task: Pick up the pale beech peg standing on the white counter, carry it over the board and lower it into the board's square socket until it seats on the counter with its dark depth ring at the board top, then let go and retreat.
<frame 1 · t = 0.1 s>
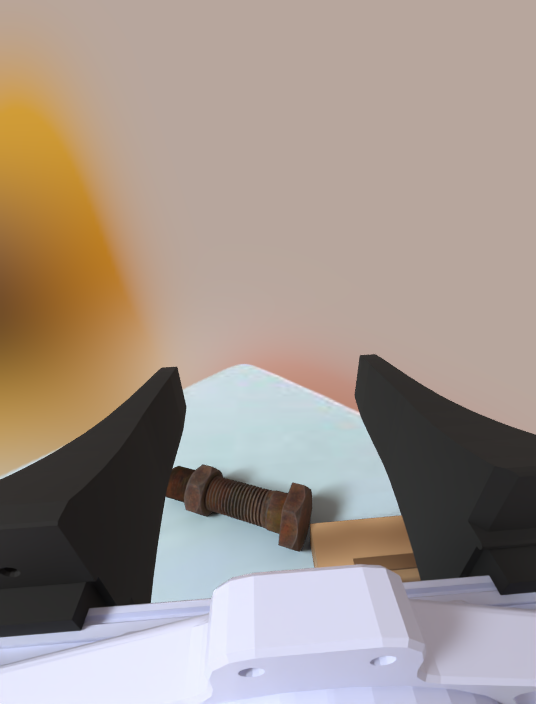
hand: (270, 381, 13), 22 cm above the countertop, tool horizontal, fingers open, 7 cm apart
board: (424, 629, 23), on the countertop
bolt: (234, 513, 32), on the countertop
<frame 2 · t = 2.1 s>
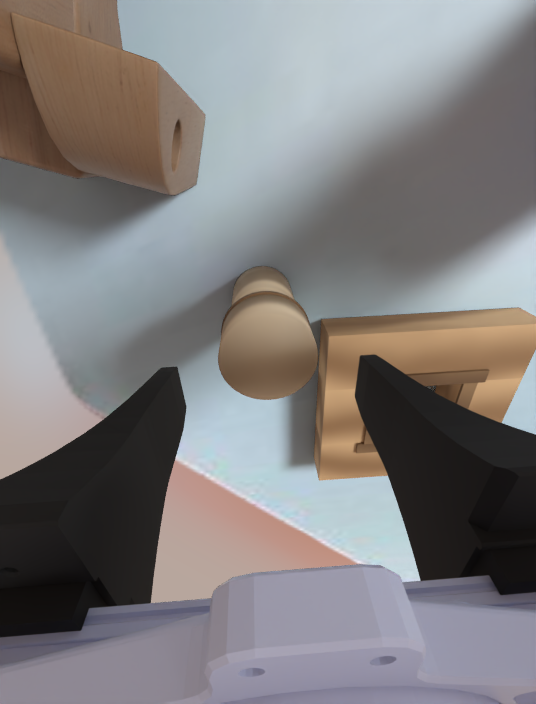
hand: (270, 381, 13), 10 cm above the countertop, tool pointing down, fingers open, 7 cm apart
peg: (262, 294, 21), on the countertop
board: (402, 392, 26), on the countertop
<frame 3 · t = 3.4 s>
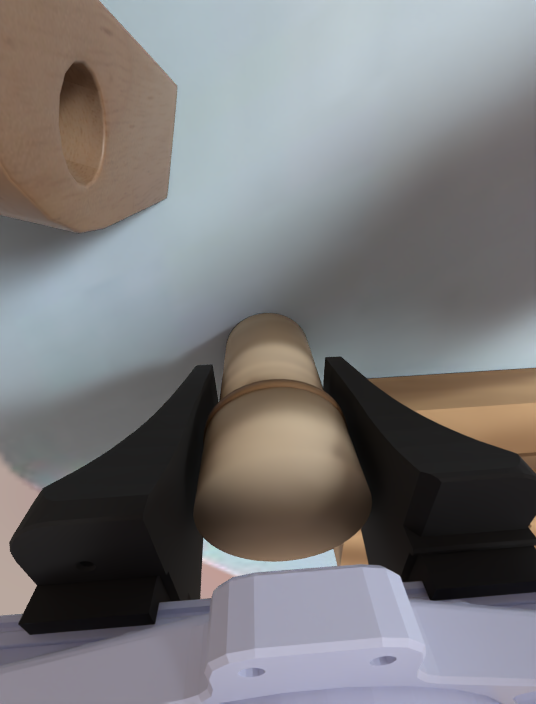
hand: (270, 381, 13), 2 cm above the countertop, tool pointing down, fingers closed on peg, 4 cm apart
peg: (267, 350, 15), on the countertop, touching gripper
board: (449, 463, 20), on the countertop
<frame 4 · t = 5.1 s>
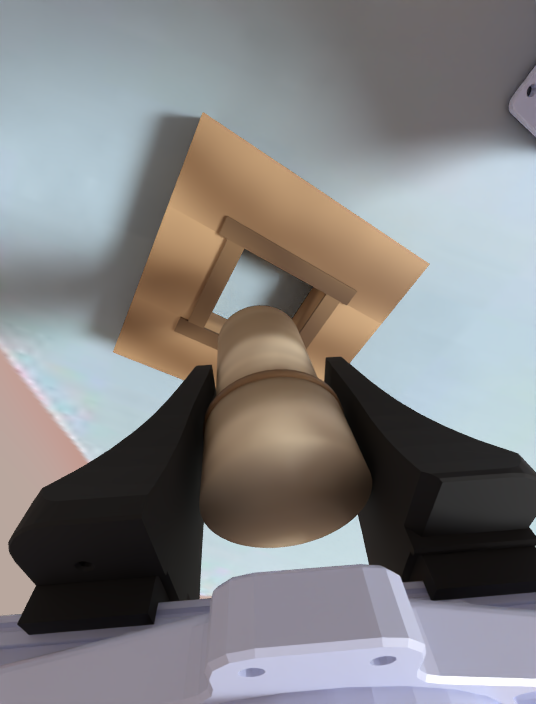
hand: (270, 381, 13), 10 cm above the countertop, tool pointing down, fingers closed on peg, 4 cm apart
peg: (259, 343, 15), point 7 cm above the countertop, touching gripper
board: (262, 295, 21), on the countertop
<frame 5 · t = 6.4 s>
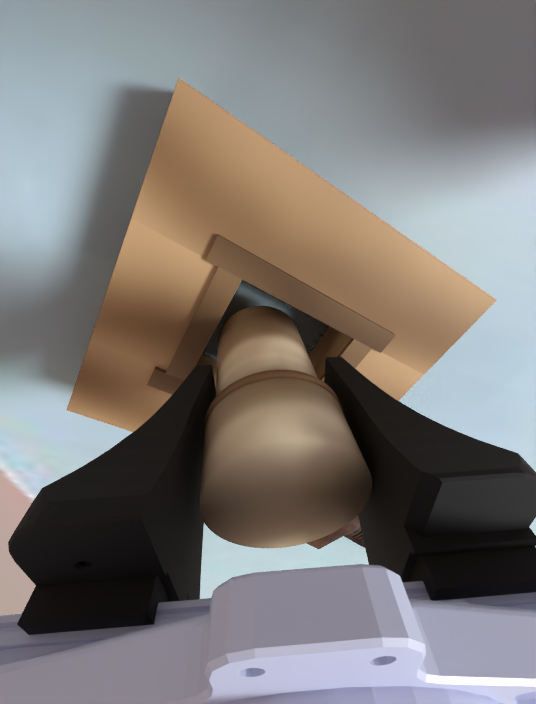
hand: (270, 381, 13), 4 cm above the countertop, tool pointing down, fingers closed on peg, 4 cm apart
peg: (259, 343, 15), point 2 cm above the countertop, touching gripper
board: (265, 332, 16), on the countertop
bolt: (367, 497, 25), on the countertop
when the fingers open (3 cm above the countertop, at t = 7.2 s): peg stays where it is, resting in board.
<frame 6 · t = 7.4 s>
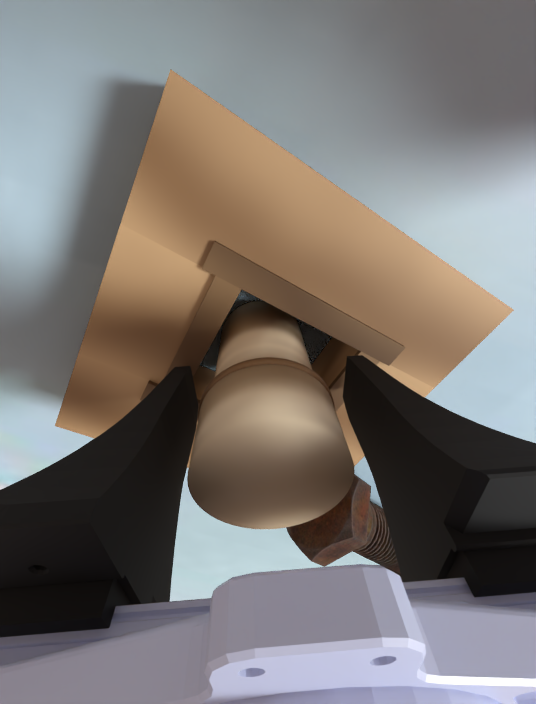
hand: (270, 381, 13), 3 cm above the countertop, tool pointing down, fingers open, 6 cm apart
peg: (261, 337, 15), resting in board
board: (266, 342, 15), on the countertop
bolt: (374, 506, 24), on the countertop
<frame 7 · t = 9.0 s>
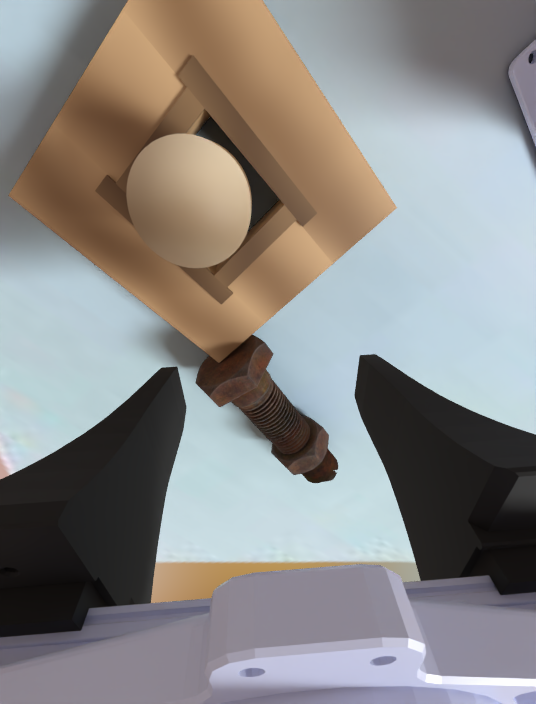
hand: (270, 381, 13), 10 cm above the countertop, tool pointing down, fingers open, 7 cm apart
peg: (211, 191, 18), resting in board
board: (214, 197, 18), on the countertop
bolt: (277, 403, 27), on the countertop
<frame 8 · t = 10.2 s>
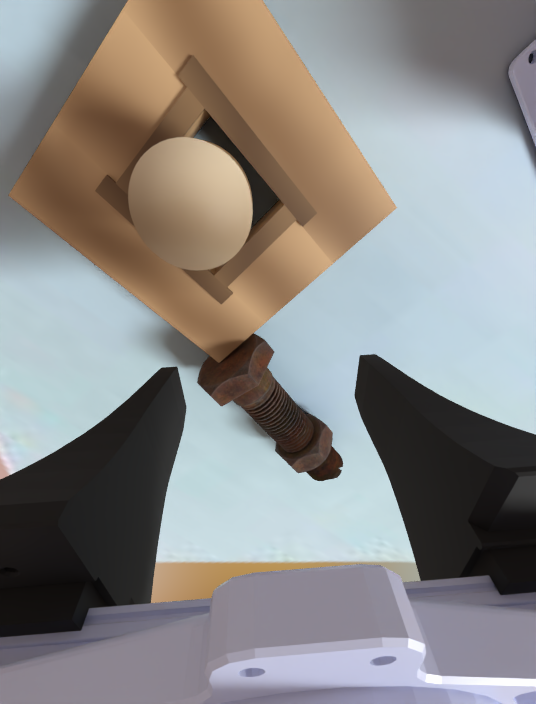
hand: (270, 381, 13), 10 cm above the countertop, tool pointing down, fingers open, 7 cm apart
peg: (211, 191, 18), resting in board
board: (214, 197, 18), on the countertop
bolt: (280, 401, 27), on the countertop
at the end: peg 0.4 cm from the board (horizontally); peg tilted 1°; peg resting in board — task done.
